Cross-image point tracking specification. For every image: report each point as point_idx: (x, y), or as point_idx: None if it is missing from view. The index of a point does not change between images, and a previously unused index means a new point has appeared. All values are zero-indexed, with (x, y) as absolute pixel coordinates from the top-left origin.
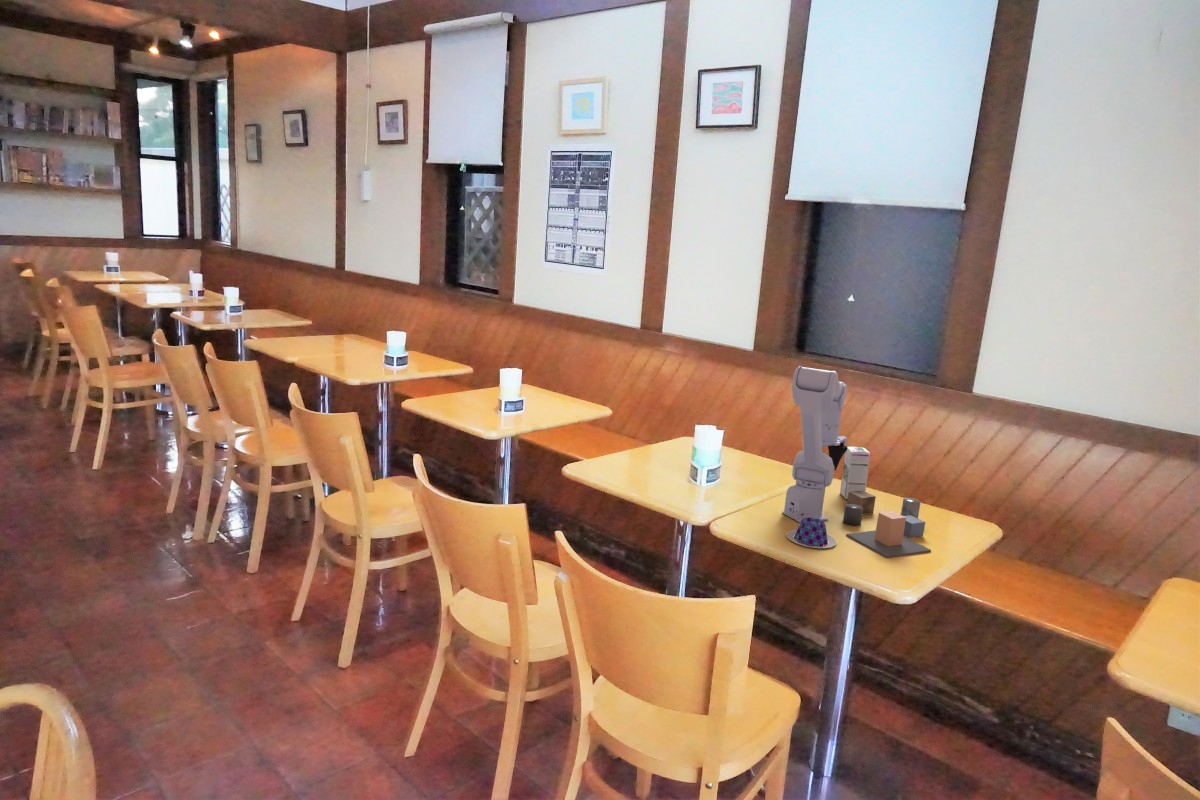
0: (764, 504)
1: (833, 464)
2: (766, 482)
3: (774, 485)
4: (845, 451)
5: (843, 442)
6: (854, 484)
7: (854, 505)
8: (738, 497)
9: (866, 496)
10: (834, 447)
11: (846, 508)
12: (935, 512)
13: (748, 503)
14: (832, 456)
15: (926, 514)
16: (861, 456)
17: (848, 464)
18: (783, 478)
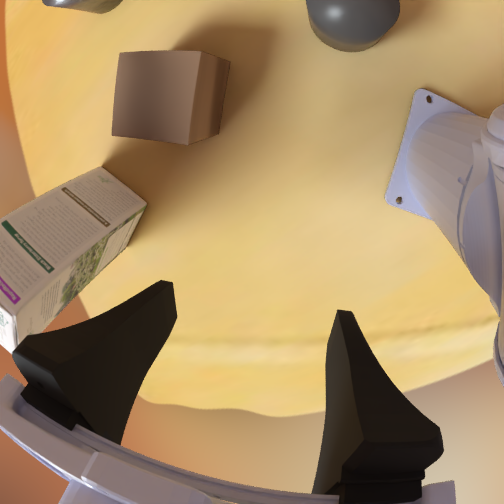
0: (450, 311)
1: (157, 315)
2: (268, 392)
3: (268, 376)
4: (44, 334)
5: (19, 400)
6: (92, 209)
7: (331, 6)
8: (444, 367)
9: (160, 60)
10: (99, 413)
11: (396, 17)
12: (19, 41)
13: (471, 333)
14: (135, 363)
15: (41, 28)
16: None
17: (59, 281)
18: (199, 382)
